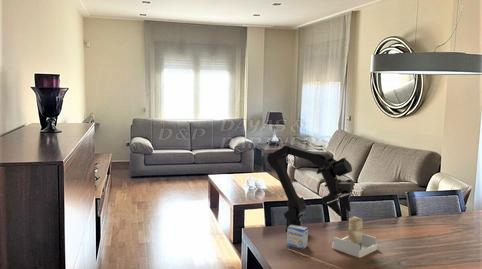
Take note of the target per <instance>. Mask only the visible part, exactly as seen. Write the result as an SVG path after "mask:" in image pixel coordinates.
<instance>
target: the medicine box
mask: <svg viewBox="0 0 482 269" xmlns="http://www.w3.org/2000/svg"><path fill="white" fill-rule="evenodd" d="M286 232H287V233H286V234H287V235H286V247H287V248H288V247H294V248H299V249H306V248H307V247H308V241H309V240H308V239H309V238H308V237H309V227H306V226H303V225H302V226H296V225H290V226H288V229H287V231H286Z"/></svg>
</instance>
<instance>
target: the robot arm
mask: <svg viewBox="0 0 482 269" xmlns="http://www.w3.org/2000/svg"><path fill="white" fill-rule="evenodd" d="M289 155H290V156H293V157H297V158H300V159H303V160H306V161H309V162H310V163H311V164H312V165H315V166H317V167H318V168H317V171H316V175H319V174H321V176H322V178H323V181H324V182H325V184H324V188H327V190H328V192H329V193H328V194H327V195H324V196H323V197H322V198H321V200H322V203H323V204H324V205H326V206H328V208H330V209H331V210H332V211H333V212H334V213H335V214H337V216H338V217H342V216H343V214H342V210H341V207H340V205H339V204H340V203H341V204H342V205H343V206H344V208H345V209H346V210H347V211H348V212H351V211H352V210H351V196H352V194H353V192H354V191H353V190H355V187H354V186H356V183H355V182H354V181H353V179H351V178H350V179H347V180H346V181H342V180H341V179H339V177H342V176H346V175H347V174H349V173H352V171H353V168H352V165H351V163H350V162H349V161H348V160H347V159H346V157H342V158H340V159H339V160H336V159H335V158H333V157H331V155H330V154H329V153H328V152H321V151H311V150H308V149H305V148H301V147H297V146H294V145H292V144H287V145H283V146H282V147H280V148H279V149H277V150H275V151H274V152H270V153H268V155H267V157H266V161H267V163H268V165H269V166H270V168H271V169H273V170H274V171H275V172H276V173H275V174H277V177H278V180H279V182H280V184H281V187H282V189H283V191H284V193H285V196H286V198H287V209H288V210H287V211H286V212H285V213H283V216H284V219H286V225H285V226H286V228H285V230H286V231H285V232H287V229H288V226H290V225H296V226H302V227H303V220H302V217H303V215H304V214H305V213H306V210H307V203H306V202H305V198H304V197H300V196H298V194H297V190H295V186H294V184H293V183H292V181H291V178H290V176H289V174H288V171H287V168H286V159H285V158H287V157H288V156H289Z"/></svg>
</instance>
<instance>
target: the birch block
mask: <svg viewBox="0 0 482 269" xmlns="http://www.w3.org/2000/svg"><path fill="white" fill-rule="evenodd" d="M363 222H364V218H362V217H357V216H352V217H349V218H348V232H347V234H348V235H347V236H348V241H349V242H352V243H355V244H358V245H360V249H361V247H362V234H363V227H364V226H363Z"/></svg>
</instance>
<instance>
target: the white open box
mask: <svg viewBox="0 0 482 269" xmlns="http://www.w3.org/2000/svg"><path fill="white" fill-rule="evenodd" d="M331 245H332V246H331V249H333V250H336V251H339V252H342V253H345V254H346V255H350V256H354V257H356V258H359V259H361V258H363V257H365V256H367V255H369V254H370V253H373V252H375V251H377V250H378V243H377V237H376V236H373V235H372V236H371V235H368V234H365V233H362V247H361V249H360V245H358V244H355V243H352V242H349V241H348V235H347V236H345V237H343V238H339V237H336V236H333V242H331Z"/></svg>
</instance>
